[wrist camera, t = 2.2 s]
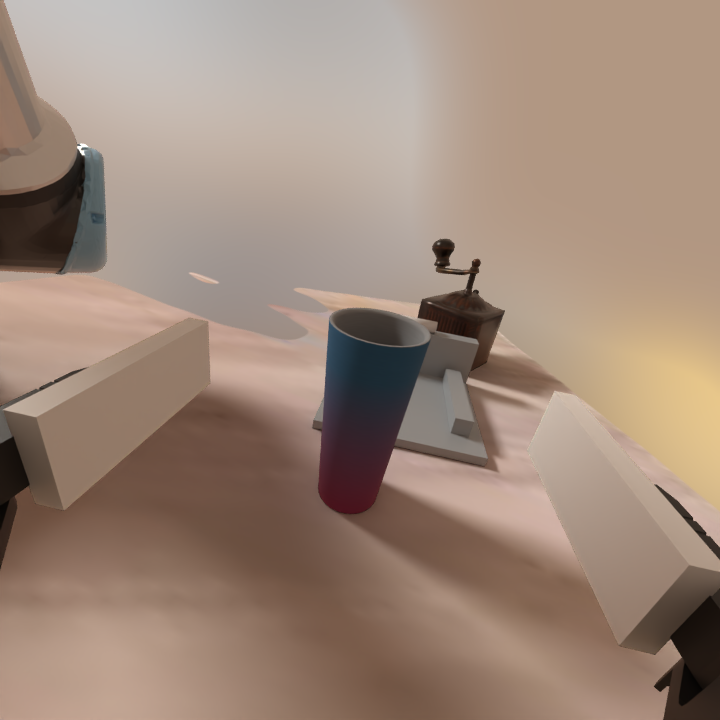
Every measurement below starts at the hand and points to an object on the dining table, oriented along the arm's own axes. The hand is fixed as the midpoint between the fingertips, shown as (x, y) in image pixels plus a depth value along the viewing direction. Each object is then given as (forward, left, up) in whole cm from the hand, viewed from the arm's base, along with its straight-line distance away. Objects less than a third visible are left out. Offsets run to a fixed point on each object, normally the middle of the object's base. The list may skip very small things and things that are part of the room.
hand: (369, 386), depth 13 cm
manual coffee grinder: (+10, +46, -16) cm, 50 cm away
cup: (0, +10, -16) cm, 19 cm away
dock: (+4, +26, -16) cm, 31 cm away
